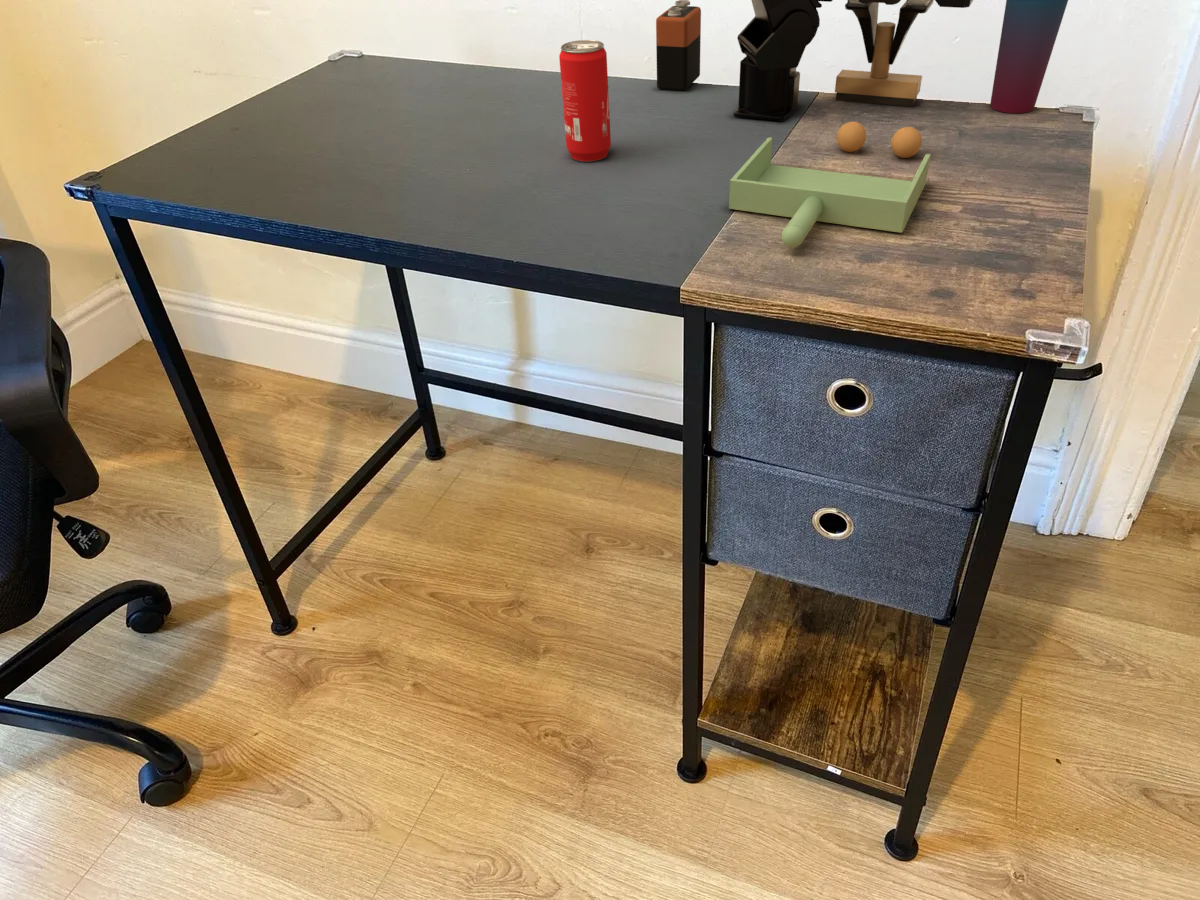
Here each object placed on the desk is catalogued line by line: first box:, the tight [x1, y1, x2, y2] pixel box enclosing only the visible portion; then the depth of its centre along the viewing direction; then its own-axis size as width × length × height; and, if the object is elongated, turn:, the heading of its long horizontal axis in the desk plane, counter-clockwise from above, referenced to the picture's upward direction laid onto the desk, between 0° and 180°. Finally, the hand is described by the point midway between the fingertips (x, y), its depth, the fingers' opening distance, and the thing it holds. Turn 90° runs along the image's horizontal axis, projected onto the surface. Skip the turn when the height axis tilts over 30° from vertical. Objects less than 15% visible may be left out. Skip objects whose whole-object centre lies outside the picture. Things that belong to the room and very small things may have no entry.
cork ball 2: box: [890, 126, 923, 159], centre depth 96 cm, size 3×3×3 cm
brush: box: [834, 21, 923, 108], centre depth 109 cm, size 10×3×9 cm, turn 64°
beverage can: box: [558, 39, 612, 163], centre depth 99 cm, size 5×5×12 cm
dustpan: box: [728, 136, 931, 249], centre depth 86 cm, size 20×17×3 cm
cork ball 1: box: [836, 121, 867, 153], centre depth 98 cm, size 3×3×3 cm
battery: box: [655, 0, 702, 91], centre depth 119 cm, size 4×7×10 cm, turn 158°
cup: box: [989, 0, 1069, 114], centre depth 102 cm, size 7×7×15 cm
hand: (880, 63), depth 109 cm, fingers closed on brush, 2 cm apart
